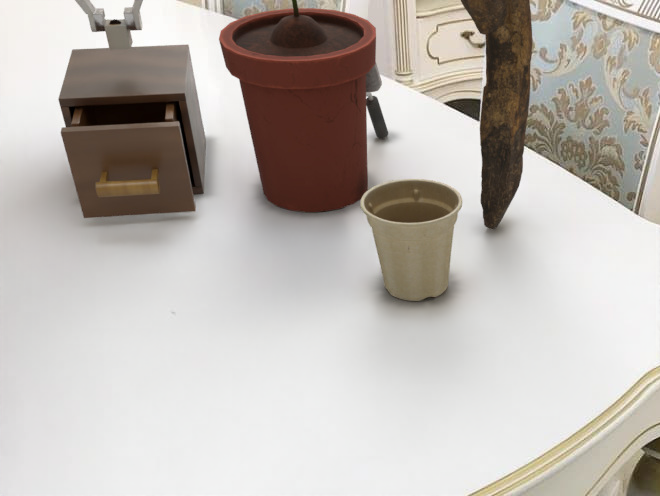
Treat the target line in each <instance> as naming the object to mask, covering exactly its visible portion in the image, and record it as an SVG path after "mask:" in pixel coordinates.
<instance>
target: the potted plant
mask: <svg viewBox="0 0 660 496" xmlns="http://www.w3.org/2000/svg"><path fill="white" fill-rule="evenodd" d="M291 5H292V8H282V9H274V10H266V11H261V12H258V13H257V12H256V13H253V14H249V15H245V16H242V17H241V18H238V19H235V20H234V21H231V22H229V23H228V24H227V25H225V26H224V28H223V29H221V30H220V32H219V37H218V41H219V45H220V50H221V52H222V53H221V54H222V56H223V60H224V64H225V68H226V69H227V71H228V72H229V73H230V75H231V76H233V77H234V78H236V79H238V81H239V86H240V90H241V95H242V99H243V104H244V109H245V113H246V118H247V122H248V128H249V132H250V135H251V141H252V146H253V151H254V155H255V160H256V164H257V170H258V174H259V179H260V183H261V187H262V192H263V193H262V194H263V196H264V197H265V198H266V200H267V201H268V202H269V203H271V204H272V205H274V206H275V207H277V208H281V209H284V210H289V211H293V212H294V211H295V212H302V213H319V212H320V213H321V212H328V211H335V210H341V209H343V208H346V207H348V206H351V205H354V204H355V203H357V202H360V201H361V198H362V196H363V194H364V193H365V192H366V191H368V190H369V180H368V179H369V176H368V133H367V132H368V124H367V123H368V121H367V118H368V117H367V112H368V115H369V118H370V121H371V123H372V127H373V130H374V133H375V136H376V138H377V139H380V140H383V139H385V138H387V137H388V136H389V130H388V128H387V124H386V120H385V117H384V115H383V111H382V107H381V105H380V101H379V99H378V97H377V96H376V95H373V94H372V93H375V92H378V91H380V89H381V88H382V85H383V81H382V78H381V74H380V70H379V68H378V63H377V60H376V59H377V58H376V56H377V55H376V54H377V28H376V27H375V25H374V24H373V23H371V22H370V20H368V19H366V18H363V17H361V16H359V15H357V14H354V13H350V12H345V11H340V10H336V9H327V8H315V7H306V8H304V7H303V8H302V7H301V8H300V7H299V6H298V5H299V4H298V0H291Z"/></svg>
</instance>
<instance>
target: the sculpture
mask: <svg viewBox="0 0 660 496" xmlns="http://www.w3.org/2000/svg"><path fill="white" fill-rule="evenodd" d="M460 2H461V4H462V6H463V8H464V9H465V10H466V12H467V14H468V15H469V16H470V18H471V19H472V22H473V23H474V25H475V27H476V29H477V31H478V32H479V34H481V35H485V76H486V83H485V85H484V86H483V88H482V89H483V90H482V99H481V107H480V108H481V109H480V110H481V111H480V122H479V141H480V142H479V143H480V144H479V145H480V155H481V182H480V186H481V192H480V205H481V208H482V218H483V225H484V227H485V228H487V229H489V230H495V229H496V228H497V227H498V226H499V225H500V223H501V222H502V220H503V218H504V216H505V214H506V213H507V211H508V209H509V207H510V205H511V203H512V202H513V200H514V198H515V196H516V194H517V191H518V189H519V187H520V184H521V181H522V175H523V171H524V170H523V169H524V152H525V143H526V132H527V123H528V117H529V107H530V99H531V65H532V64H531V61H532V56H533V27H532V26H533V25H532V13H531V12H532V11H531V2H530V0H460Z"/></svg>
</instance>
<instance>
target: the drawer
mask: <svg viewBox="0 0 660 496" xmlns="http://www.w3.org/2000/svg"><path fill="white" fill-rule="evenodd" d="M71 126H72V127H66V126H65V127H64V126H63V127H61V130H60V136H61V139H62V143H63V147H64V151H65V154H66V157H67V161H68V165H69V169H70V173H71V176H72V180H73V184H74V187H75V190H76V194H77V198H78V202H79V206H80V209H81V213H82V216H83V218H84V219H93V218H112V217H125V216H140V215H141V216H143V215H158V214H175V213H191V212H196V211H197V210H196V207H197V206H196V202H195V196H194V195H195V194H193V190H192V185H191V180H190V168H191V163H190V158H189V153H188V148H187V142H186V137H185V132H184V127H183V122H182V117H181V111H180V106H179V101H173V102H153V103H132V104H112V105H92V106H76V107H75V111H74V115H73V119H72V123H71Z"/></svg>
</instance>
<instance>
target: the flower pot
mask: <svg viewBox="0 0 660 496" xmlns="http://www.w3.org/2000/svg"><path fill="white" fill-rule="evenodd" d="M359 205H360V209H361V211H362V213H363V214H364V215H365V216H366V220H367V223H368V225H369V226H370V228H371V231H372V236H373V239H374V244H375V248H376V253H377V257H378V262H379V266H380V271H381V275H382V280H383V286H384V288H385V289H386V290H387V291H388V293H389V294H390V295H391V296H392V297H394V298H397V299H400V300H403V301H410V302H421V301H423V300H424V299H427V298H438V297H440V296H441V295H442V294H444V292H446V290H447V289H448V287H449V280H450V279H449V278H450V266H451V260H452V259H451V258H452V247H453V240H454V239H453V238H454V231H455V230H454V229H455V225H456V223H457V221H458V217H459V214H458V213H460V211H461V209H462V207H463V197H462V194H461V193H460V192H459V191H458V190H457V189H456V188H454V187H452V185H449V184H447V183H444V182H441V181H436V180H431V179H424V178H404V179H403V178H402V179H396V180H389V181H386V182H382V183H379V184H377V185H375V186H372V187H371V188H368V191H366V192H365V193H364V194H363V196H362V198H361V199H360V200H359Z"/></svg>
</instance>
